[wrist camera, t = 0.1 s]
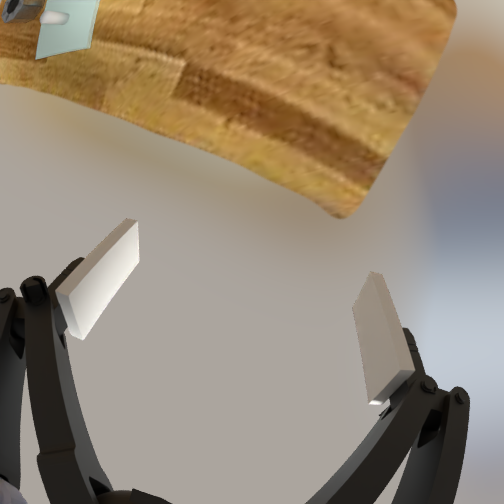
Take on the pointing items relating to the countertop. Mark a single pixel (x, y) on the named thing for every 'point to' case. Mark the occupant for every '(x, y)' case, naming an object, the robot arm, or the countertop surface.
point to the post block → (66, 26)
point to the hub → (21, 10)
